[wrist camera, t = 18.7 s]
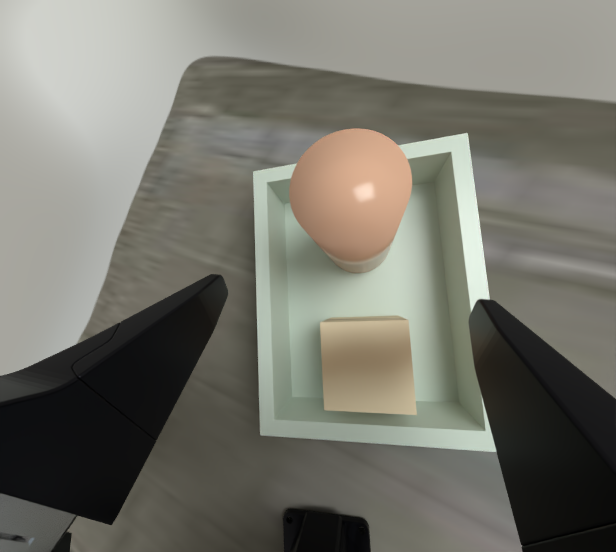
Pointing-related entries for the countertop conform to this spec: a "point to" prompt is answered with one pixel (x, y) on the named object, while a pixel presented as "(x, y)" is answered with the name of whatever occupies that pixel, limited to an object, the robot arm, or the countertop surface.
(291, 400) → the tote
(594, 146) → the countertop surface
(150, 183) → the countertop surface
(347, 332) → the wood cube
